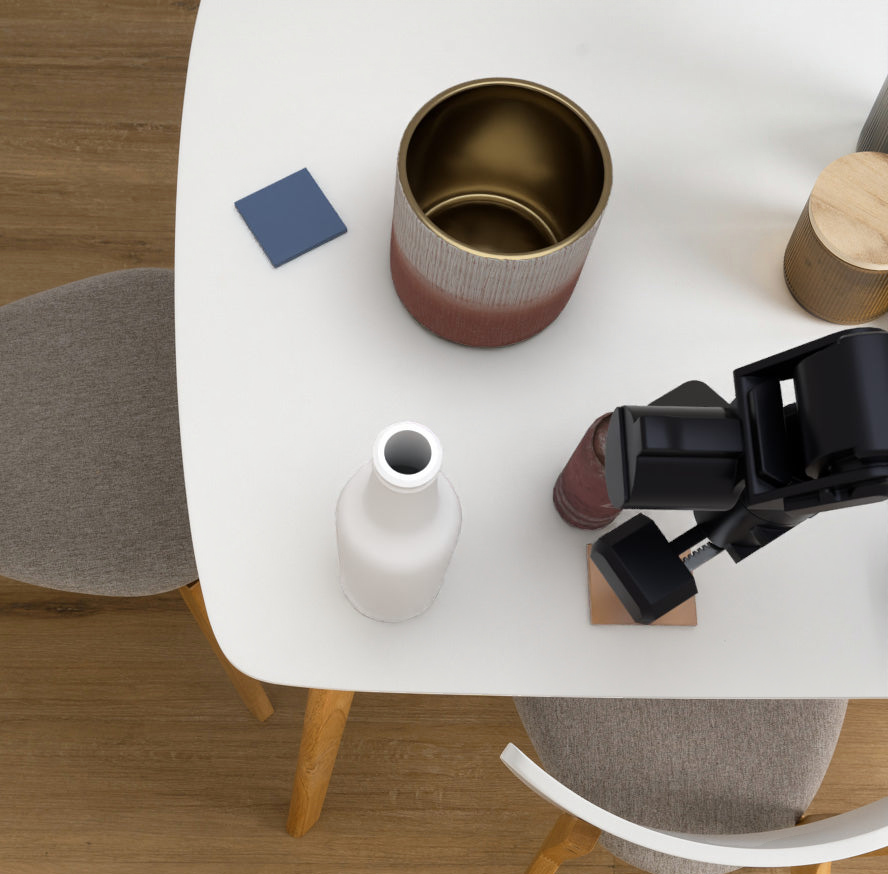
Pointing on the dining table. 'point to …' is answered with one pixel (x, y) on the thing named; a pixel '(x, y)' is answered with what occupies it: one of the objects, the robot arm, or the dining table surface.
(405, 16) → the dining table surface
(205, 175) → the dining table surface
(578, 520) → the can
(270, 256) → the slate mat
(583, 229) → the planter
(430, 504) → the alcohol
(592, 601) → the caramel mat
